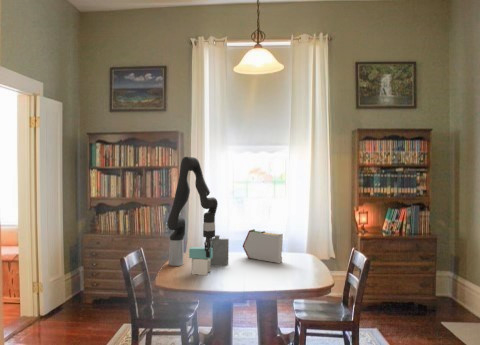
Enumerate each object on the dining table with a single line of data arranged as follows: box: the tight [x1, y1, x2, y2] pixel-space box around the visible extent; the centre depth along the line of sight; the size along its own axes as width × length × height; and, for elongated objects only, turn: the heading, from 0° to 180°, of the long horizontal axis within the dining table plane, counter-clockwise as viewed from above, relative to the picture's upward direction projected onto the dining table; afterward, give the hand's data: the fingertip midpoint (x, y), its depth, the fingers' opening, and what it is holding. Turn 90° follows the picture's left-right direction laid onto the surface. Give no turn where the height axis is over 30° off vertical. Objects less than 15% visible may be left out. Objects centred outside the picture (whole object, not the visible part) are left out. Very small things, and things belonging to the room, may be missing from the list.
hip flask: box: [210, 234, 230, 266], centre depth 242 cm, size 16×4×20 cm, turn 86°
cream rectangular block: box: [191, 258, 211, 276], centre depth 221 cm, size 10×8×10 cm
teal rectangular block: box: [188, 246, 213, 259], centre depth 221 cm, size 14×4×6 cm, turn 84°
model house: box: [242, 229, 284, 264], centre depth 257 cm, size 21×9×30 cm
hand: (208, 256), depth 220 cm, fingers closed on teal rectangular block, 4 cm apart
